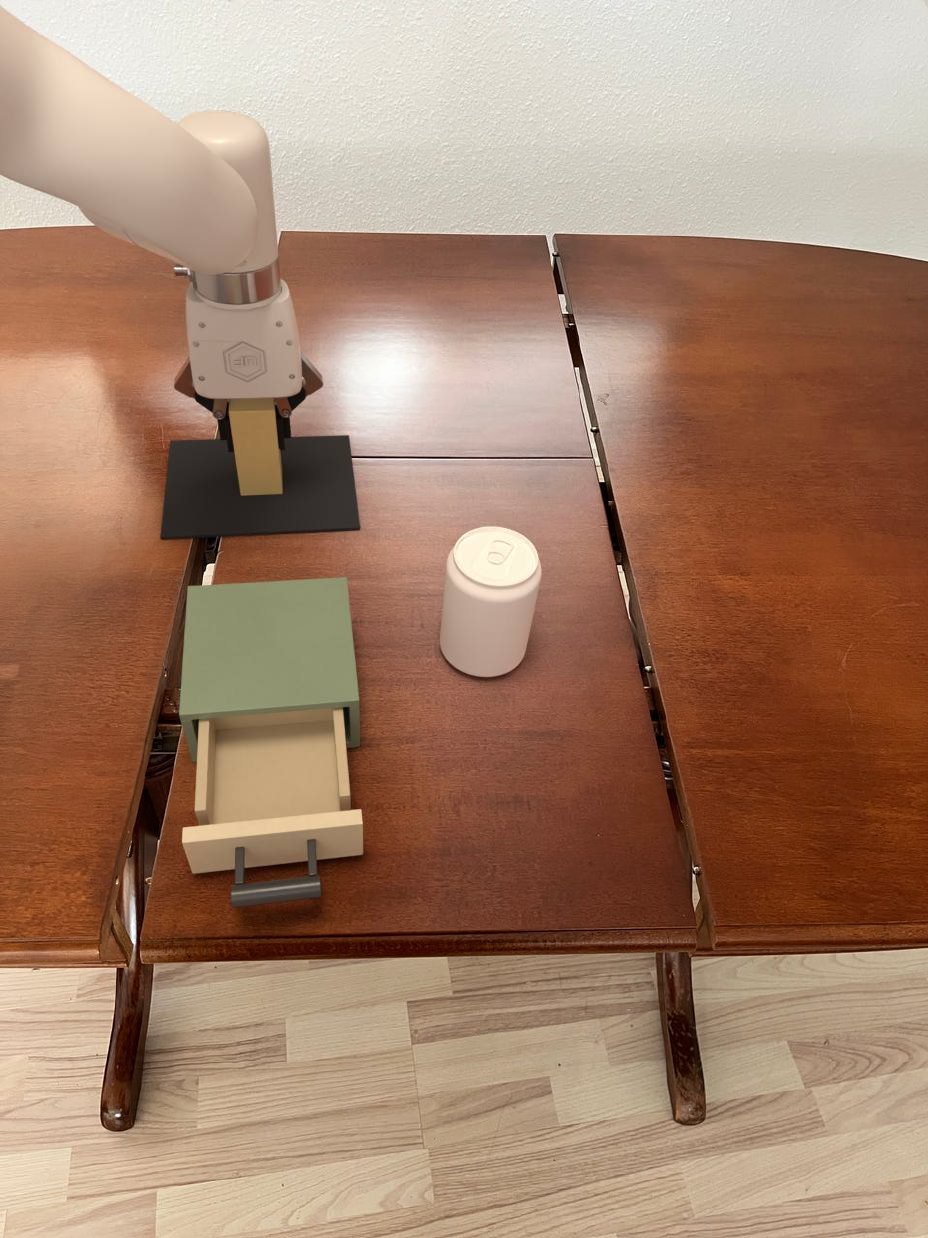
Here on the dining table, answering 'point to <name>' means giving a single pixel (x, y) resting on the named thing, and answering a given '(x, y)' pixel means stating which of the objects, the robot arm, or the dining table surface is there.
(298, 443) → the mat
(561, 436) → the dining table surface
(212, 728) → the drawer
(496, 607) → the beverage can
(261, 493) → the box
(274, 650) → the cabinet
